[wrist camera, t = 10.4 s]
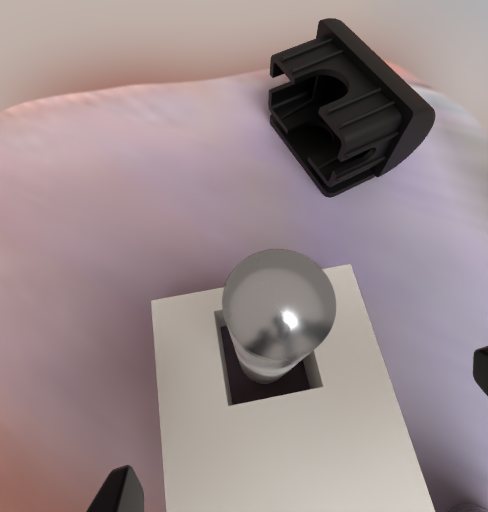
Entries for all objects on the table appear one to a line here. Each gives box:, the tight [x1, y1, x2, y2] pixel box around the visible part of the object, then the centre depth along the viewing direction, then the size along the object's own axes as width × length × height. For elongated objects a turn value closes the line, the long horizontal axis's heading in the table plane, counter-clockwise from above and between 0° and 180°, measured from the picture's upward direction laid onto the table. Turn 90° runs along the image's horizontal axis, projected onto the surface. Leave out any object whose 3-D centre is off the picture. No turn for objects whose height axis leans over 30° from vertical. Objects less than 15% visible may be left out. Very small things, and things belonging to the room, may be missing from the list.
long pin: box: [222, 249, 336, 384], centre depth 14 cm, size 3×3×12 cm
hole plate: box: [151, 264, 435, 512], centre depth 16 cm, size 18×11×4 cm, turn 11°
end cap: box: [268, 18, 435, 197], centre depth 24 cm, size 10×7×7 cm
